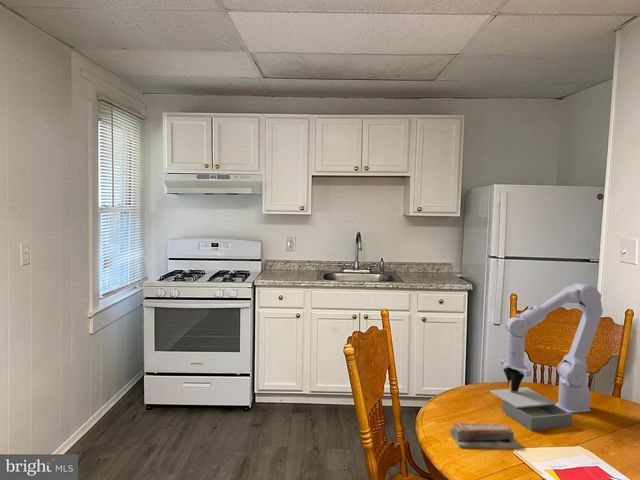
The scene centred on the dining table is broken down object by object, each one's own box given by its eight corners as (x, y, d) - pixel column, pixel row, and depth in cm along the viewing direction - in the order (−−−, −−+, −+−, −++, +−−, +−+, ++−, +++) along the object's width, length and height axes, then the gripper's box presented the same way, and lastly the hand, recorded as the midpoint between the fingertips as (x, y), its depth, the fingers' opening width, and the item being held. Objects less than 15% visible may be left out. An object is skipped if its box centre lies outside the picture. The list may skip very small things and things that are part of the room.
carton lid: (526, 388, 171) (527, 376, 171) (555, 404, 157) (556, 391, 157) (490, 391, 167) (490, 379, 167) (516, 408, 153) (517, 394, 153)
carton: (539, 408, 164) (540, 396, 164) (571, 426, 151) (571, 414, 150) (502, 411, 161) (502, 400, 160) (531, 430, 147) (531, 418, 147)
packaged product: (459, 433, 134) (449, 418, 144) (458, 449, 135) (448, 433, 145) (521, 433, 135) (507, 419, 145) (521, 450, 135) (506, 434, 145)
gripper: (492, 346, 172) (491, 383, 173) (519, 358, 158) (517, 398, 158) (509, 345, 174) (507, 382, 174) (537, 357, 160) (535, 397, 160)
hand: (513, 389), depth 167 cm, fingers closed, pressing on carton lid
